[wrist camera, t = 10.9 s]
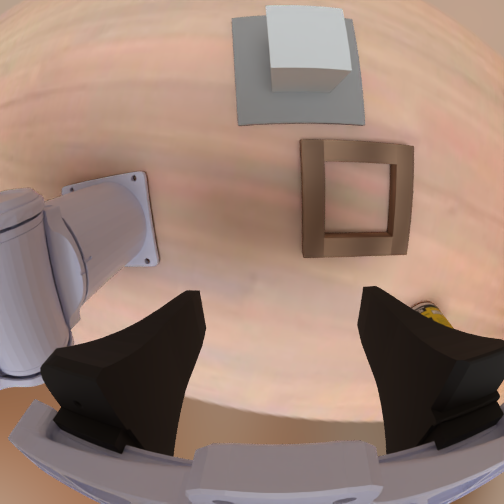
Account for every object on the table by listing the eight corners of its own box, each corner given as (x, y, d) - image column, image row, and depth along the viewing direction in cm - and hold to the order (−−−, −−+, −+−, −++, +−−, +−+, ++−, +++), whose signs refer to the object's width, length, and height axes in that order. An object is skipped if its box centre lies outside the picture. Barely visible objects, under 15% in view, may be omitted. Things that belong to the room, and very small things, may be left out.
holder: (302, 252, 21) (303, 257, 20) (300, 140, 18) (301, 139, 17) (400, 249, 20) (406, 254, 19) (406, 145, 17) (413, 146, 16)
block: (272, 92, 16) (270, 67, 11) (268, 43, 15) (265, 5, 9) (329, 92, 16) (352, 70, 10) (324, 44, 14) (342, 8, 9)
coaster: (239, 125, 18) (238, 125, 17) (232, 21, 15) (231, 18, 14) (362, 125, 17) (365, 125, 16) (350, 22, 14) (351, 19, 13)
